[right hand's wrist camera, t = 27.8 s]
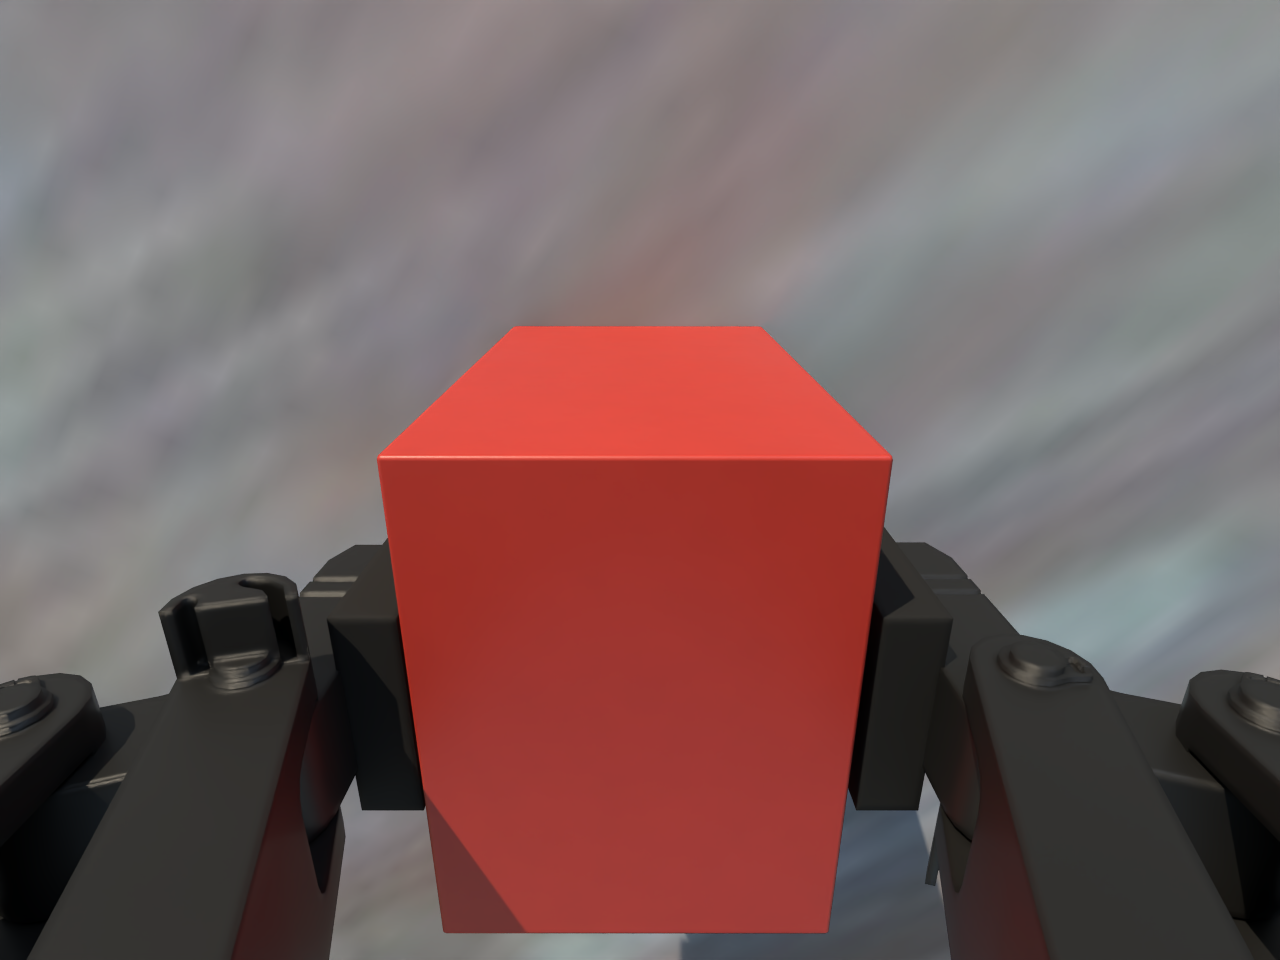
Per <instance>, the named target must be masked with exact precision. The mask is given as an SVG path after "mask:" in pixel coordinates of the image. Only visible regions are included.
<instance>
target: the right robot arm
mask: <svg viewBox="0 0 1280 960" xmlns="http://www.w3.org/2000/svg"><path fill="white" fill-rule="evenodd" d="M158 613H159V616H160V620H161V623H162V627H163V630H164V634H165V638H166V641H167V645H168V648H169V652H170V655H171V659H172V662H173V666H174V669H175V673H176V676H177V680H176V682H175V684H174V685H173V687H172V689H171V691H170V693H169V694H167V695H163V696H159V697H153V698H148V699H143V700H138V701H132V702H127V703H122V704H117V705H111V706H106V707H101V708H99V705H98V702H97V699H96V696H95V693H94V690H93V687H92V684H91V683H90V682H89V681H87V680H86V679H84V678H83V677H82V676H80V675H72V674H63V673H57V674H48V675H40V676H29V677H24V678H19V679H18V681H14V680H12V681H9V682H6V683H3V684H0V960H329V955H330V948H331V941H332V933H333V926H334V918H335V911H336V903H337V896H338V888H339V881H340V874H341V866H342V859H343V851H344V844H345V829H344V822H343V817H342V812H341V807H340V805H341V803H342V801H343V799H344V797H345V795H346V793H347V791H348V789H349V787H350V785H351V783H352V781H353V779H354V777H355V775H356V781H357V786H358V792H359V797H360V802H361V808H362V810H424V808H425V805H426V804H425V797H424V790H423V783H422V776H421V769H420V762H419V755H418V747H417V740H416V733H415V726H414V719H413V712H412V705H411V698H410V691H409V683H408V676H407V669H406V662H405V655H404V648H403V641H402V634H401V627H400V619H399V612H398V605H397V598H396V591H395V584H394V577H393V570H392V562H391V555H390V548H389V541H388V538H387V540H386V541H385V542H384V543H383V545H354V546H353V547H351V548H349V549H347V550H346V551H344V552H342V553H340V554H339V555H337V556H335V557H334V558H332V559H330V560H329V561H328V562H327V563H326V564H325V565H324V566H323V567H322V569H321V570H320V571H319V572H318V573H317V574H316V575H315V576H314V578H313V582H309V583H308V584H307V586H306V587H305V588H304V589H303V590H302V591H301V592H300V597H299V596H298V591H297V586H296V583H294V582H293V581H291V580H290V579H288V578H287V577H286V576H280V575H275V574H270V573H254V574H241V575H236V576H230V577H225V578H220V579H216V580H213V581H211V582H208V583H205V584H202V585H199V586H196V587H193V588H191V589H189V590H188V591H186V592H184V593H182V594H180V595H178V596H177V597H175V598H173V599H171V600H170V601H169V602H168V603H167V604H166V605H165V606H164V607H163V608H162V609H161V610H160V611H159V612H158ZM925 773H926V775H927V777H928V779H929V781H930V783H931V785H932V787H933V789H934V791H935V793H936V795H937V797H938V799H939V801H940V807H939V812H938V817H937V822H936V827H935V832H934V837H933V842H932V847H931V852H930V857H929V862H928V867H927V874H926V881H925V884H928V885H933V886H935V884H936V879H937V874H938V870H939V872H940V879H941V887H942V894H943V902H944V909H945V916H946V924H947V931H948V939H949V946H950V953H951V960H1280V680H1277V679H1274V678H1271V677H1268V676H1267V678H1265V677H1264V676H1263V675H1259V674H1255V673H1250V672H1236V671H1228V670H1215V671H1206V672H1200V673H1199V674H1198V675H1196V676H1195V677H1193V678H1192V679H1191V680H1190V681H1189V684H1188V687H1187V690H1186V693H1185V696H1184V699H1183V702H1182V705H1181V704H1176V703H1171V702H1165V701H1160V700H1155V699H1149V698H1144V697H1139V696H1134V695H1128V694H1123V693H1119V692H1115V691H1111V690H1109V688H1108V686H1107V684H1106V682H1105V680H1104V679H1103V677H1102V676H1101V675H1100V674H1099V672H1098V671H1097V670H1096V669H1095V668H1094V667H1093V666H1092V664H1091V663H1089V662H1088V661H1086V660H1085V659H1083V658H1082V657H1080V656H1079V655H1077V654H1075V653H1074V652H1072V651H1071V650H1069V649H1066V648H1064V647H1061V646H1059V645H1056V644H1054V643H1051V642H1049V641H1046V640H1042V639H1037V638H1033V637H1029V636H1024V635H1020V634H1019V633H1018V632H1017V631H1016V630H1015V629H1014V628H1013V626H1012V625H1011V624H1010V623H1009V622H1008V621H1007V620H1006V619H1005V617H1004V616H1003V615H1002V614H1001V613H1000V612H999V611H998V610H997V608H996V607H995V606H994V605H993V604H992V603H991V602H990V600H989V599H988V598H987V597H986V596H985V595H984V594H981V590H980V589H979V588H978V587H977V586H976V585H975V584H974V582H973V581H972V580H971V579H968V578H967V575H966V573H965V572H964V571H963V570H962V569H961V568H960V567H959V566H958V564H957V563H956V562H955V561H954V560H953V559H952V558H951V557H949V556H948V555H946V554H944V553H942V552H941V551H939V550H937V549H935V548H934V547H932V546H930V545H928V544H927V543H896V542H895V541H894V539H893V538H892V537H891V536H890V534H889V533H888V532H887V530H886V529H885V528H884V527H883V535H882V542H881V549H880V557H879V564H878V571H877V579H876V586H875V593H874V601H873V608H872V615H871V623H870V630H869V637H868V645H867V652H866V659H865V667H864V674H863V681H862V689H861V696H860V703H859V711H858V718H857V725H856V733H855V740H854V747H853V755H852V762H851V769H850V777H849V784H848V789H849V791H850V794H851V797H852V800H853V803H854V805H855V808H856V810H918V808H919V802H920V797H921V792H922V786H923V781H924V775H925Z"/></svg>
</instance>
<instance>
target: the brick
mask: <svg viewBox="0 0 1280 960" xmlns="http://www.w3.org/2000/svg"><path fill="white" fill-rule="evenodd" d="M892 461H893V459H892V456H891V455H890V454H889V453H888V452H887V451H886V450H885V449H884V448H883V447H882V446H881V445H880V444H879V443H878V442H877V441H876V440H875V439H874V438H873V437H872V436H871V435H870V434H869V433H868V432H867V431H866V430H865V429H864V428H863V427H862V426H861V425H860V424H859V423H858V422H857V421H856V420H855V419H854V418H853V417H852V416H851V415H850V414H849V413H848V412H847V411H846V410H845V409H844V408H843V407H842V406H841V405H840V404H839V403H838V402H837V401H836V400H835V399H834V398H833V397H832V396H831V395H829V394H828V393H827V392H826V391H825V390H824V389H823V388H822V387H821V386H820V385H819V384H818V383H817V382H816V381H815V380H814V379H813V378H812V377H811V376H810V375H809V374H808V373H807V372H806V371H805V370H804V369H803V368H802V367H801V366H800V365H799V364H798V363H797V362H796V361H795V360H794V359H793V358H792V357H791V356H790V355H789V354H788V353H787V352H786V351H785V350H784V349H783V348H782V347H781V346H780V345H779V344H778V343H777V342H776V341H775V340H774V339H773V338H772V337H771V336H770V335H769V334H768V333H767V332H766V331H765V330H764V329H763V328H762V327H581V326H515V327H513V328H512V329H511V330H510V331H509V332H508V333H507V334H506V335H505V336H504V337H503V338H502V339H501V340H500V341H499V342H497V343H496V344H495V345H494V346H493V347H492V348H491V349H490V350H489V351H488V352H487V353H486V354H485V355H484V356H483V357H482V358H481V359H480V360H478V361H477V362H476V363H475V364H474V365H473V366H472V367H471V368H470V369H469V370H468V371H467V372H466V373H465V374H464V375H463V376H462V377H461V378H459V379H458V380H457V381H456V382H455V383H454V384H453V385H452V386H451V387H450V388H449V389H448V390H447V391H446V392H445V393H444V394H443V395H442V396H440V397H439V398H438V399H437V400H436V401H435V402H434V403H433V404H432V405H431V406H430V407H429V408H428V409H427V410H426V411H425V412H424V413H423V414H421V415H420V416H419V417H418V418H417V419H416V420H415V421H414V422H413V423H412V424H411V425H410V426H409V427H408V428H407V429H406V430H405V431H404V432H402V433H401V434H400V435H399V436H398V437H397V438H396V439H395V440H394V441H393V442H392V443H391V444H390V445H389V446H388V447H387V448H386V449H385V450H383V451H382V452H381V453H380V454H379V455H378V457H377V463H378V470H379V477H380V484H381V491H382V498H383V506H384V513H385V520H386V527H387V534H388V541H389V548H390V555H391V562H392V570H393V577H394V584H395V591H396V598H397V605H398V612H399V619H400V627H401V634H402V641H403V648H404V655H405V662H406V669H407V676H408V683H409V691H410V698H411V705H412V712H413V719H414V726H415V733H416V740H417V747H418V755H419V762H420V769H421V776H422V783H423V790H424V797H425V804H426V811H427V819H428V826H429V833H430V840H431V847H432V854H433V861H434V868H435V876H436V883H437V890H438V897H439V904H440V911H441V918H442V925H443V931H444V932H445V933H827V932H828V930H829V923H830V916H831V909H832V901H833V894H834V887H835V879H836V872H837V865H838V857H839V850H840V843H841V835H842V828H843V821H844V813H845V806H846V799H847V791H848V784H849V777H850V769H851V762H852V755H853V747H854V740H855V733H856V725H857V718H858V711H859V703H860V696H861V689H862V681H863V674H864V667H865V659H866V652H867V645H868V637H869V630H870V623H871V615H872V608H873V601H874V593H875V586H876V579H877V571H878V564H879V557H880V549H881V542H882V535H883V527H884V520H885V513H886V505H887V498H888V491H889V483H890V476H891V469H892Z"/></svg>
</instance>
